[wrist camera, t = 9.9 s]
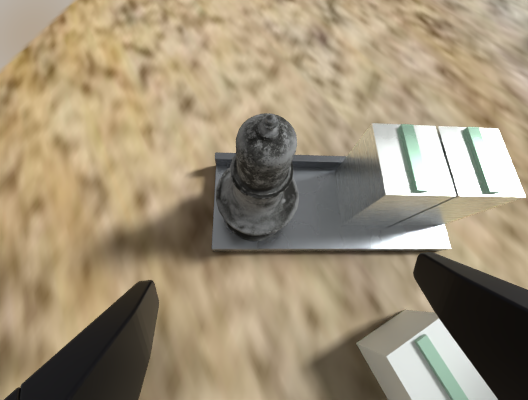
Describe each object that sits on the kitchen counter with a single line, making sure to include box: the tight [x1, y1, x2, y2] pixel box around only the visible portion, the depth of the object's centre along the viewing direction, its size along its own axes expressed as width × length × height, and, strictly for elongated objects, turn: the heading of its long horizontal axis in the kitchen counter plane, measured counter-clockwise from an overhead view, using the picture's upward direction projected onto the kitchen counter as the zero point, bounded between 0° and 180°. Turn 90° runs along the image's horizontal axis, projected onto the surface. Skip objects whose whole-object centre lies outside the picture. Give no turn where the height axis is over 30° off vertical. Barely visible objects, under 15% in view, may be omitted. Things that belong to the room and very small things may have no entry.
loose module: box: [356, 310, 498, 400], centre depth 17 cm, size 7×5×5 cm
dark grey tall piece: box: [216, 114, 299, 241], centre depth 16 cm, size 6×6×12 cm
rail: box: [212, 123, 525, 251], centre depth 19 cm, size 8×20×8 cm, turn 91°
